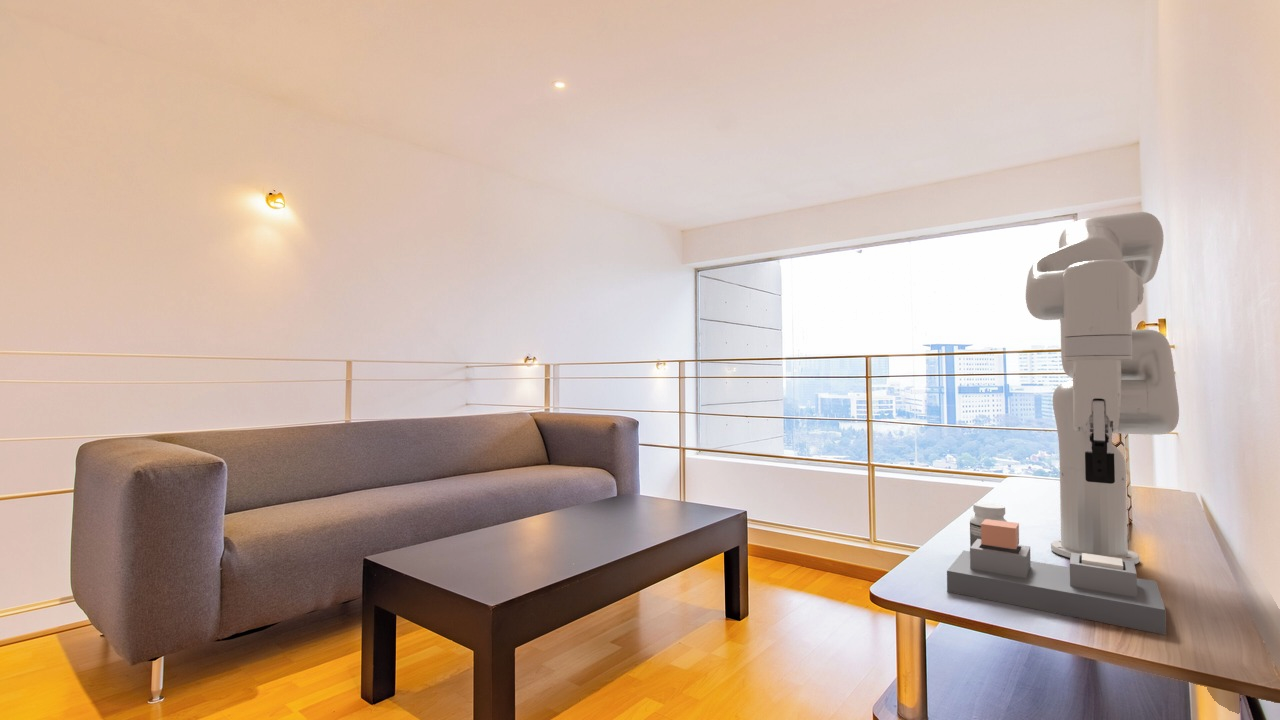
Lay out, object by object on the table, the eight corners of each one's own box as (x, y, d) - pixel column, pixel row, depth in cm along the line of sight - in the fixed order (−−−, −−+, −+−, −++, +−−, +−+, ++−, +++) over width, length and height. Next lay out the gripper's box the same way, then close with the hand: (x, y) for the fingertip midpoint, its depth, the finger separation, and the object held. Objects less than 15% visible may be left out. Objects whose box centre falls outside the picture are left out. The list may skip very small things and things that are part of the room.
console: (963, 568, 98) (963, 532, 98) (1156, 602, 83) (1155, 559, 83) (947, 591, 87) (946, 549, 87) (1166, 635, 72) (1164, 584, 72)
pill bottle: (984, 557, 104) (984, 501, 105) (1017, 567, 99) (1016, 507, 100) (963, 561, 102) (962, 503, 102) (995, 571, 97) (994, 509, 97)
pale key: (1082, 574, 84) (1082, 552, 85) (1122, 580, 82) (1121, 558, 82) (1082, 581, 81) (1081, 559, 81) (1123, 589, 78) (1123, 565, 78)
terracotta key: (985, 538, 92) (985, 518, 92) (1019, 543, 89) (1018, 523, 89) (981, 544, 88) (980, 523, 88) (1016, 549, 86) (1015, 528, 86)
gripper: (1066, 352, 91) (1068, 472, 91) (1062, 349, 79) (1064, 487, 79) (1129, 350, 86) (1132, 477, 86) (1135, 347, 75) (1138, 494, 74)
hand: (1099, 481), depth 82 cm, fingers closed
